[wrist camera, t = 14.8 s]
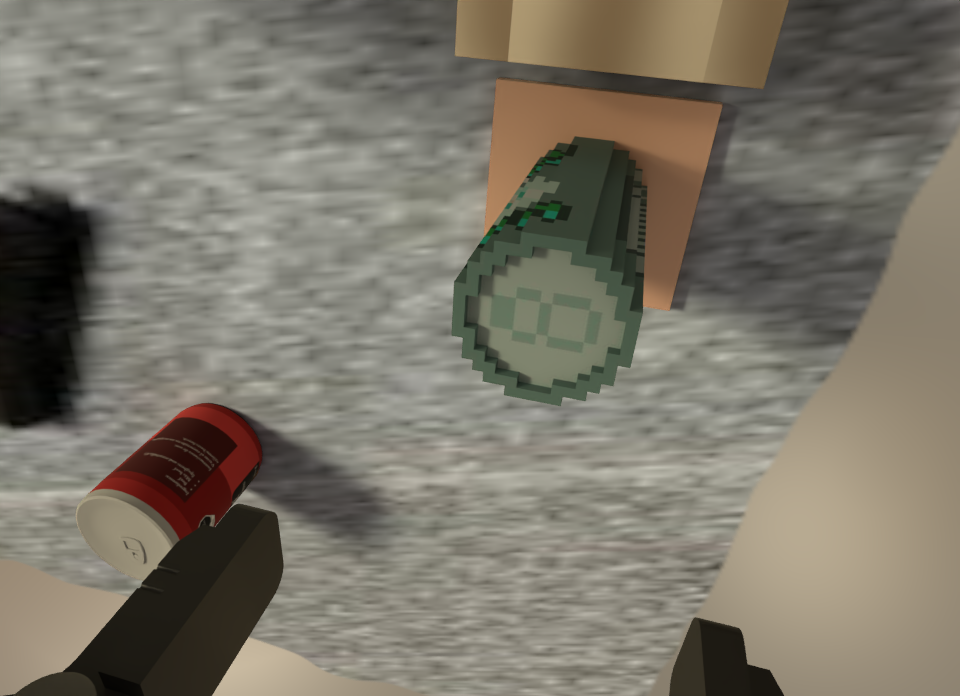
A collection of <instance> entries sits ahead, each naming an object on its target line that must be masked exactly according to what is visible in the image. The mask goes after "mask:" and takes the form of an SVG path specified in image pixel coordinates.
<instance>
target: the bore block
mask: <svg viewBox="0 0 960 696" xmlns="http://www.w3.org/2000/svg"><path fill="white" fill-rule="evenodd" d="M788 2H789V0H458V2H457V23H456V44H455V56H460V57H470V58H479V59H488V60H498V61H507V62H516V63H526V64H535V65H544V66H553V67H563V68H572V69H581V70H591V71H600V72H609V73H619V74H628V75H637V76H647V77H656V78H665V79H674V80H684V81H693V82H702V83H712V84H721V85H730V86H740V87H749V88H758V89H763V88H764V85H765V82H766V78H767V75H768V71H769V68H770V64H771V61H772V57H773V54H774V50H775V47H776V43H777V40H778V36H779V33H780V29H781V26H782V23H783V19H784V16H785V12H786V9H787V5H788Z"/></svg>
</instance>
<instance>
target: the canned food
mask: <svg viewBox="0 0 960 696" xmlns="http://www.w3.org/2000/svg"><path fill="white" fill-rule="evenodd" d="M261 461H262V449H261V445H260V442H259V440H258V438H257V436H256V434H255V433H254V431H253V430H252V428H251V427H250V426H249V425H248V424H247V423H246V422H245V421H244V420H243V419H242V418H241V417H240V416H238V415H237V414H235V413H234V412H232V411H230V410H229V409H227V408H225V407H222V406H219V405H215V404H210V403H202V404H197V405H194V406H192V407H189V408H187V409H185V410H183V411H181V412H180V413H179V414H178V415H177V416H176V417H175V418H173V419H172V420H171V421H170V422H169V423H168V424H167V425H165V426H164V427H163V428H162V429H161V430H160V431H159V432H157V433H156V434H155V435H154V436H153V437H152V438H151V439H149V440H148V441H147V442H146V443H145V444H144V445H143V446H142V447H140V448H139V449H138V450H137V451H136V452H135V453H134V454H132V455H131V456H130V457H129V458H128V459H127V460H126V461H124V462H123V463H122V464H121V465H120V466H119V467H118V468H116V469H115V470H114V471H113V472H112V473H111V474H110V475H108V476H107V477H106V478H105V479H104V480H103V481H102V482H100V484H99V485H98V486H96V487H95V488H94V489H93V490H92V491H91V492H90V493H89V494H88V495H87V496H86V497H85V498H84V499H83V500H82V501H81V502H80V503H79V504H78V507H77V509H76V521H77V525H78V528H79V530H80V532H81V534H82V536H83V538H84V539H85V541H86V542H87V543H88V545H89V546H90V547H91V548H92V550H93V551H94V552H95V553H96V554H97V555H98V556H99V557H100V558H102V559H103V560H104V561H105V562H106V563H108V564H109V565H111V566H112V567H114V568H115V569H117V570H118V571H120V572H122V573H124V574H126V575H128V576H131V577H133V578H136V579H139V580H143V581H144V580H145V579H146V578H147V576H148V575H149V574H150V573H151V572H152V571H153V569H157V567H158V564H159V562H160V561H161V560H162V559H163V558H164V557H165V556H166V554H167V553H168V552H169V551H170V550H171V549H172V547H173V546H174V545H175V544H176V543H177V542H178V541H179V540H181V539H182V538H184V537H185V536H187V535H188V534H190V533H191V532H193V531H195V530H196V529H198V528H199V527H201V526H202V525H208V526H212V527H215V526H216V524H217V523H218V522H219V521H220V520H221V518H222V517H223V516H224V515H225V513H226V512H227V511H228V510H229V508H230V507H231V506H232V505H233V504H234V502H235V501H236V500H237V499H238V497H239V496H240V495H241V494H242V493H243V491H244V490H245V489H246V488H247V486H248V485H249V484H250V483H251V481H252V480H253V479H254V478H255V476H256V475H257V473H258V470H259V468H260V465H261Z"/></svg>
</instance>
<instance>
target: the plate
mask: <svg viewBox="0 0 960 696" xmlns="http://www.w3.org/2000/svg"><path fill="white" fill-rule="evenodd" d="M722 106H723V104H722V102H716V101H707V100H698V99H689V98H680V97H671V96H662V95H653V94H644V93H635V92H626V91H617V90H609V89H600V88H591V87H582V86H573V85H564V84H555V83H546V82H537V81H528V80H519V79H510V78H501V77H499V78H498V79H496V91H495V104H494V116H493V129H492V141H491V154H490V166H489V179H488V191H487V204H486V216H485V229H484V237H485V235H486V234H487V232H488V231H489V229H490V228H491V227H492V225H493V224H494V222H495V221H496V220H497V218H498V217H499V215H500V214H501V212H502V211H503V210H504V208H505V207H506V205H507V204H508V202H509V201H510V200H511V198H512V197H513V195H514V194H515V192H516V191H517V190H518V188H519V187H520V185H521V184H522V183H523V181H524V180H525V178H526V177H527V175H528V174H529V173H530V171H531V170H532V168H533V167H534V165H535V164H536V163H537V161H538V160H539V158H540V157H545V155H546V154H547V152H548V151H549V150H554V148H555V146H556V145H557V143H566V144H571V142H572V141H573V139H574V137H575V136H577V137H586V138H594V139H602V140H611V141H615V143H614V149H616V150H624V151H630V152H629V158H628V159H630V160H636V166H635V168H636V169H643V172H642V186H647V212H646V239H645V265H644V291H643V306H644V307H650V308H656V309H662V310H667V311H669V310H670V306H671V302H672V298H673V295H674V291H675V287H676V283H677V279H678V275H679V271H680V268H681V264H682V260H683V256H684V252H685V248H686V245H687V241H688V237H689V233H690V229H691V225H692V221H693V218H694V214H695V210H696V206H697V202H698V198H699V194H700V191H701V187H702V183H703V179H704V175H705V171H706V168H707V164H708V160H709V156H710V152H711V148H712V144H713V141H714V137H715V133H716V129H717V125H718V121H719V118H720V114H721V110H722Z"/></svg>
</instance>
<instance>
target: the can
mask: <svg viewBox="0 0 960 696" xmlns="http://www.w3.org/2000/svg"><path fill="white" fill-rule="evenodd" d="M614 143H615V141H611V140H602V139H594V138H586V137H577V136H575V137H574V139H573V141H572V142H571V144H566V143H557V145H556V146H555V148H554V150H549V151H548V152H547V154H546V155H545V157H540V158H539V160H538V161H537V163H536V164H535V165H534V167H533V168H532V170H531V171H530V173H529V174H528V175H527V177H526V178H525V180H524V181H523V183H522V184H521V185H520V187H519V188H518V190H517V191H516V192H515V194H514V195H513V197H512V198H511V200H510V201H509V202H508V204H507V205H506V207H505V208H504V210H503V211H502V212H501V214H500V215H499V217H498V218H497V220H496V221H495V222H494V224H493V225H492V227H491V228H490V229H489V231H488V232H487V234H486V235H485V237H484V238H483V239H482V241H481V242H480V244H479V245H478V247H477V248H476V249H475V251H474V252H473V254H472V255H471V257H470V258H469V259H468V262H467V264H466V266H465V267H464V269H463V270H462V271H461V273H460V274H459V276H458V277H457V279H456V280H455V281H454V297H453V317H452V336H457V337H462V338H463V345H462V358H466V359H472V360H473V366H472V370H477V371H483V381H484V382H489V383H494V384H499V385H505V390H504V395H507V396H512V397H517V398H522V399H527V400H532V401H537V402H542V403H547V404H552V405H558V406H561V402H562V397H567V398H572V399H577V400H582V401H586V395H587V391H588V392H593V393H598V394H599V392H600V387H601V384H605V385H610V386H613V385H614V381H615V376H616V371H617V367H618V366H622V367H627V368H630V367H631V362H632V358H633V353H634V349H635V345H636V340H637V336H638V331H639V327H640V323H641V318H642V314H643V291H644V265H645V239H646V212H647V186H642V172H643V169H636V168H635V166H636V160H630V159H628V158H629V152H630V151H624V150H616V149H614Z"/></svg>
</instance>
